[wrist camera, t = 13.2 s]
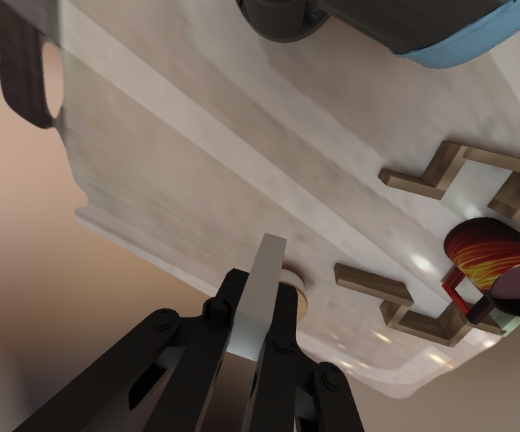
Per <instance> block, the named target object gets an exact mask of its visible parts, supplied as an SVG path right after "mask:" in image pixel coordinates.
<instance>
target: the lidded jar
mask: <svg viewBox="0 0 520 432" xmlns="http://www.w3.org/2000/svg"><path fill="white" fill-rule="evenodd" d="M279 282H281V283H285V284H288V285H291V286H294V287H295V288H296V290H297V293H298V308H297V322H298V321H300V320H301V319H302V318H303V317H304V316H305V315H306V313H307V306H308V304H307V294H306V289H305V286H304V283H303V282H302V280H301V279H300V277H299V276H298V275H296V274H295V273H294V272H292V271H290V270H287V269H281V274H280V279H279Z"/></svg>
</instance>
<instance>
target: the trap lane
mask: <svg viewBox="0 0 520 432" xmlns="http://www.w3.org/2000/svg"><path fill="white" fill-rule="evenodd" d="M467 159H469V160H473V161H477V162H481V163H485V164H489V165H492V166H496V167H500V168H504V169H508V170H512V171H513V173H512V174H511V175H510V177H509V178H508V179H507V181H506V182H505V183H504V185H503V186H502V187H501V189H500V190H499V191H498V193H497V194H496V195H495V197H494V198H493V199H492V201H491V202H490V203H489V205H488V206H487V207H489V208H491V209H493V210H495V211H497V212H498V213H500V214H502V215H504V216H506V217H507V218H509V219H511V220H515V221H519V222H520V159H516V158H512V157H508V156H504V155H500V154H496V153H492V152H488V151H484V150H480V149H476V148H472V147H468V146H464V145H460V144H456V143H451V142H446V141H442V143H441V145H440V147H439V148H438V150H437V152H436V154H435V155H434V157H433V159H432V161H431V162H430V164H429V166H428V168H427V169H426V171H425V173H424V175H423V176H422V178H421V179H420V178H416V177H412V176H408V175H405V174H401V173H397V172H393V171H390V170H386V169H381V171H380V173H379V175H378V178H379V179H380V180H381V181H382V182H383V183H384V184H385V185H386V186H390V187H393V188H397V189H401V190H404V191H408V192H412V193H415V194H419V195H423V196H427V197H430V198H434V199H438V200H441V198H442V197H443V195H444V194H445V192H446V191H447V189H448V188H449V186H450V184H451V183H452V181H453V180H454V178H455V177H456V175H457V174H458V172H459V170H460V169H461V167H462V166H463V164H464V163H465V161H466V160H467ZM334 273H335V280H336V285H339V286H342V287H345V288H349V289H352V290H355V291H358V292H362V293H365V294H368V295H371V296H374V297H378V298H381V299H384V301H383V303H382V304H381V306H380V310H381V313H382V315H383V318H384V321H385V324H386V327H390V328H392V329H395V330H398V331H401V332H404V333H408V334H411V335H414V336H417V337H420V338H423V339H426V340H429V341H432V342H436V343H439V344H442V345H445V346H448V347H452V348H453V347H454V346H455V345H456V344H457V343H458V342H459V341H460V340H461V339H462V338H463V337H464V336H465V335H466V334H467V333H468V332H469V331H470V330H471V329H472V328H473V327H474V328H477V329H480V330H483V331H487V332H490V333H493V334H496V335H499V336H503V337H506V336H507V335H508V334H509V333H510V332H511V331H512V330H514V329H515V328H516V327H517V326H518V325H519V324H520V317H517V316H512V315H508V314H506V313H503V312H501V311H499V310H498V309H497V308H494V309H493V310H492V311H491V312H490V313H489V314H488V315H487V316H486V317H485V318H484V319H483V320H482V321H481V322H480V323H479V324H477V325H474V324H471V323H470V322H469V320H468V319H467V318H466V316H465V315H464V314H463V312H462V311H461V310H460V308H459V307H458V306H457V304H456V303H455V302H454V300H453V301H452V303H451V304H450V305H449V306H448V307H447V308H446V310H445V311H444V312H443V313H442V314H441V315H440V317H439V318H438V319H434V318H430V317H427V316H424V315H421V314H418V313H414V312H411V311H408V310H409V308H410V307H411V306H412V304H413V303H414V301H413V299H412V297H411V295H410V293H409V292H408V290H407V288H406V286H405V284H404V283H401V282H397V281H394V280H391V279H388V278H384V277H381V276H378V275H374V274H371V273H368V272H365V271H361V270H358V269H355V268H351V267H348V266H345V265H342V264H338V263H336V265H335V267H334ZM465 303H466V304H467V305H468V306H469V308H470V309H471V308H472V307H473V306H474V305H473V304H470V303H467V302H465Z"/></svg>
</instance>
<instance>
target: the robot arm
mask: <svg viewBox="0 0 520 432" xmlns="http://www.w3.org/2000/svg"><path fill="white" fill-rule="evenodd" d="M236 2H237V5H238V7H239V9H240V11H241V13H242V15H243V16H244V18H245V19H246V20H247V22H248V23H249V25H250V26H251V27H252V28H253V29H254V30H255V31H256V32H257V33H258V34H260V35H261V36H263V37H264V38H266V39H268V40H271V41H274V42H280V43H288V42H294V41H298V40H301V39H303V38H305V37H307V36H309V35H310V34H312V33H313V32H315V31H316V30H317V29H318V28H319V27H321V26H322V24H323V23H324V22H325V21H326V20H327V19H328V18H329V16H330V15H332V16H334V17H335V18H337V19H339V20H341V21H342V22H344V23H346V24H348V25H349V26H351V27H353V28H355V29H356V30H358V31H360V32H362V33H363V34H365V35H367V36H369V37H370V38H372V39H374V40H376V41H377V42H379V43H381V44H383V45H385V46H386V47H388V48H390V51H391V52H392V54H394V55H395V56H397V57H399V56H400V57H402V58H408V59H410V60H412V61H414V62H416V63H418V64H420V65H422V66H425V67H427V68H434V69H444V68H450V67H453V66H457V65H460V64H462V63H465V62H467V61H469V60H472V59H474V58H476V57H478V56H480V55H482V54H483V53H485V52H487V51H489V50H490V49H492V48H494V47H495V46H497V45H498V44H500V43H501V42H503V41H505V40H506V39H508V38H509V37H511V36H512V35H514V34H515V33H516V32H518V31H519V30H520V0H236ZM286 241H287V239H284V238H281V237H277V236H274V235H271V234H267V233H265V234H264V237H263V239H262V242H261V245H260V247H259V250H258V253H257V255H256V258H255V261H254V263H253V266H252V269H251V272H250V273H248V272H245V271H242V270H239V269H235V268H233V269H232V270H231V271H229V272H228V273H227V275H226V277H225V279H224V281H223V282H222V284H221V287H220V288H219V290H218V292H217V294H216V296H215V297H212V298H210V299H208V300H207V301H206V302H205V303H204V304H203V311H202V315H200V316H197V317H179V314H178V313H177V312H176V311H175V310H172V309H166V308H163V309H159V310H156V311H154V312H153V313H151V314H150V315H149V316H147V317H146V318H145V319H144V320H143V321H142V322H140V323H139V324H138V325H137V326H136V327H135V328H133V329H132V330H131V331H130V332H129V333H128V334H126V335H125V336H124V337H123V338H122V339H121V340H119V341H118V342H117V343H116V344H115V345H113V346H112V347H111V348H110V349H109V350H108V351H106V352H105V353H104V354H103V355H102V356H100V357H99V358H98V359H97V360H96V361H95V362H93V363H92V364H91V365H90V366H89V367H88V368H86V369H85V370H84V371H83V372H82V373H81V374H79V375H78V376H77V377H76V378H75V379H74V380H72V381H71V382H70V383H69V384H68V385H66V386H65V387H64V388H63V389H62V390H61V391H59V392H58V393H57V394H56V395H55V396H54V397H52V398H51V399H50V400H49V401H48V402H46V403H45V404H44V405H43V406H42V407H41V408H39V409H38V410H37V411H36V412H35V413H34V414H32V415H31V416H30V417H29V418H28V419H27V420H25V421H24V422H23V423H22V424H21V425H20V426H18V427H17V428H16V429H15V430H14V431H12V432H121V431H122V430H123V429H124V428H125V427H126V425H127V424H128V423H129V422H130V421H131V419H132V418H133V417H134V416H135V414H136V413H137V412H138V410H139V409H140V408H141V407H142V406H143V405H144V403H145V402H146V401H147V400H148V398H149V397H150V396H151V395H152V394H153V392H154V391H155V390H156V389H157V388H158V386H159V385H160V384H161V383H162V381H163V380H164V379H165V378H166V377H167V375H168V374H169V373H170V372H171V370H172V369H175V370H174V371H173V374H172V375H171V377H170V379H169V381H168V383H167V385H166V387H165V389H164V391H163V393H162V395H161V397H160V398H159V400H158V402H157V404H156V406H155V408H154V410H153V412H152V414H151V416H150V418H149V420H148V422H147V424H146V425H145V427H144V429H143V431H142V432H199V430H200V427H201V424H202V421H203V418H204V415H205V412H206V410H207V407H208V404H209V401H210V398H211V395H212V392H213V389H214V386H215V383H216V381H217V377H218V375H219V372H220V369H221V366H222V362H223V359H224V355H225V353H226V351H228V352H231V353H234V354H236V355H239V356H242V357H245V358H248V359H251V360H253V361H256V362H257V361H258V362H257V367H256V370H255V373H254V375H253V378H252V381H251V383H250V384H251V389H250V394H249V398H248V403H247V408H246V412H245V417H244V421H243V427H242V430H241V432H293V431H294V415H295V423H296V430H297V432H364V428H363V426H362V422H361V419H360V417H359V413H358V411H357V408H356V405H355V402H354V399H353V396H352V393H351V390H350V387H349V384H348V381H347V379H346V377H345V375H344V373H343V372H342V371H341V370H340V369H339V367H337V366H336V365H334V364H333V363H330V362H320V363H319V364H317V363H316V362H315V361H313V360H312V359H310V358H309V357H307V356H306V355H305V354H304V353H303V352H302V351H301V349H300V348H299V346H298V344H297V341H296V324H297V308H298V293H297V290H296V288H295V287H294V286H291V285H288V284H285V283H281V282H279V279H280V274H281V268H282V263H283V257H284V252H285V246H286Z"/></svg>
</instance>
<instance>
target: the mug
mask: <svg viewBox="0 0 520 432" xmlns="http://www.w3.org/2000/svg"><path fill="white" fill-rule="evenodd" d="M444 251H445V253H446V255H447V256H448V257H449V258H450V260H451V261H452V262H453V263H454V264H455V265H456V266H457V268H456V269H455V270H454V272H453V273H452V274H451V275H450V277H449V278H448V279H447V280H446V282H445V283H444V284H443V285H442V287H443V288H444V289H445V291H446V292H447V293H448V295H449V296H450V297H451V299H452V300H454V302H455V303H456V304H457V306H458V307H459V308H460V310H461V311H462V312H463V314H464V315H465V316H466V318H467V319H468V320H469V322H470V323H471V324H474V325H477V324H479V323H480V322H481V321H482V320H483V319H484V318H485V317H486V316H487V315H488V314H489V313H490V312H491V311H492V310H493V309H494V308H497V309H498V310H499V311H501V312H503V313H506V314H508V315H512V316H517V317H520V232H518V231H516V230H515V229H513V228H511V227H509V226H508V225H506V224H504V223H503V222H501V221H499V220H497V219H494V218H488V217H480V218H473V219H470V220H467V221H465V222H462V223H460V224H459V225H457V226H456V227H454V228H453V229H452V230H451V231H450V232H449V233H448V235H447V236H446V238H445V241H444ZM465 276H466V277H467V278H468V279H469V280H470V281H471V282H472V283H473V284H474V285H475V286H476V287H477V289H478V290H479V291H480V292H481V293H482V294H483V295H484V296H483V297H482V298H481V299H480V300H479V301H478V302H477V303H476V304H475V305H474V306H473V307H472V308H471V309H470V308H469V306H468V305H467V304H466V303H465V301H464V300H463V299H462V298H461V296H460V295H459V294H458V293H457V291H456V290H455V288H456V287H457V286H458V284H459V283H460V282H461V281H462V280H463V279H464V277H465Z"/></svg>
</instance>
